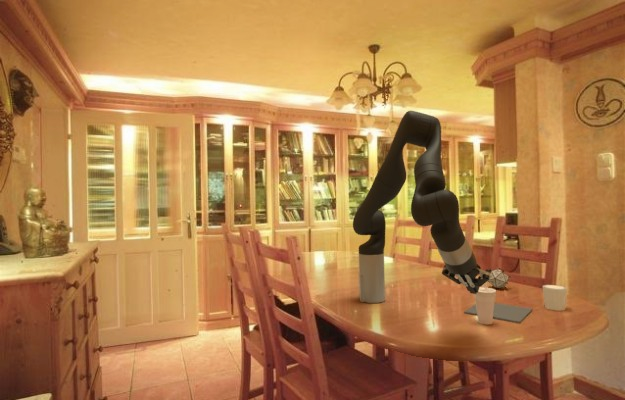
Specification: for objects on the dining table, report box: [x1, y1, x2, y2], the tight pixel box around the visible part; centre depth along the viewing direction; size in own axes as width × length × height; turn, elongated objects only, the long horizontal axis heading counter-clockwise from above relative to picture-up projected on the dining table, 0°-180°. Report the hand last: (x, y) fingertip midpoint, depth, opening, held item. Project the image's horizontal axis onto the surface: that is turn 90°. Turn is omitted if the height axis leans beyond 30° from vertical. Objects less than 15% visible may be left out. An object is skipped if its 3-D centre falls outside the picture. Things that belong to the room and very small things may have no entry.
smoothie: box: [473, 281, 497, 325], centre depth 109 cm, size 6×6×14 cm
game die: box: [487, 267, 512, 291], centre depth 148 cm, size 9×8×10 cm
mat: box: [463, 302, 533, 324], centre depth 118 cm, size 16×16×1 cm
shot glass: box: [542, 284, 568, 312], centre depth 121 cm, size 7×7×7 cm
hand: (474, 291), depth 102 cm, fingers closed
